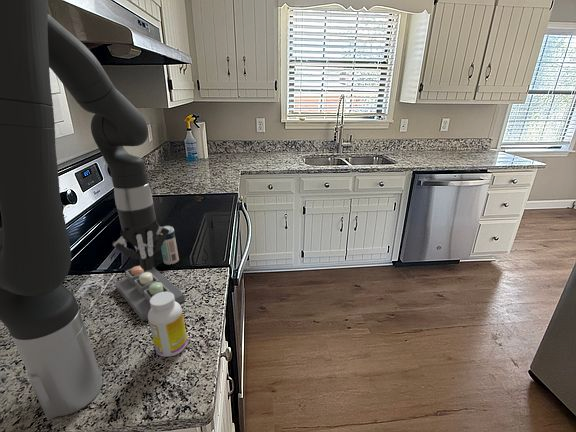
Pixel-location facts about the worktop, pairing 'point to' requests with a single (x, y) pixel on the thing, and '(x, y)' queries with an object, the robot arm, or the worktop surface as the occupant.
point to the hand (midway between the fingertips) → (148, 269)
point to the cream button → (145, 278)
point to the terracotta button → (136, 270)
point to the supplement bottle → (167, 324)
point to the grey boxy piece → (144, 291)
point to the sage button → (155, 288)
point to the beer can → (170, 248)
